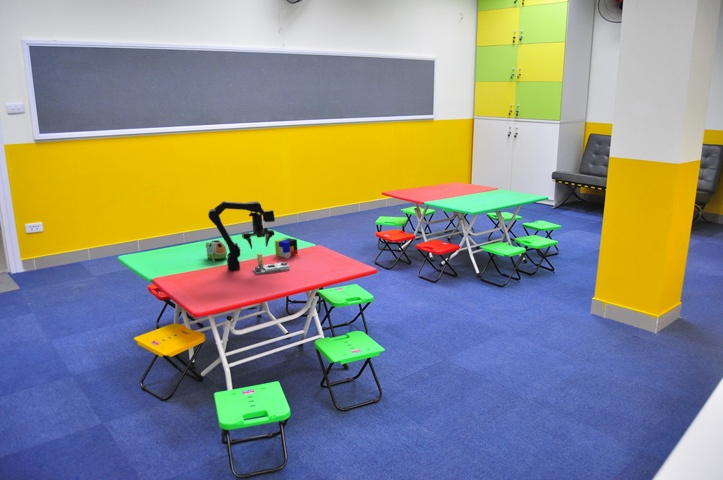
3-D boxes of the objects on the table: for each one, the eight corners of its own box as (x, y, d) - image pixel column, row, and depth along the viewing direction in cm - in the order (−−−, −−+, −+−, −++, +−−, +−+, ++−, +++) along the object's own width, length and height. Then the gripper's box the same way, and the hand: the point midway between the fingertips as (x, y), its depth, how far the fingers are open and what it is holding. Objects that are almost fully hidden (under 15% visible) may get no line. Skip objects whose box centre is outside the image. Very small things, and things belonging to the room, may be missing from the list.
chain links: (256, 274, 335) (256, 269, 334) (253, 270, 343) (252, 265, 342) (289, 269, 343) (289, 264, 342) (285, 265, 351) (284, 261, 350)
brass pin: (258, 267, 348) (257, 255, 346) (257, 266, 351) (256, 254, 349) (263, 267, 349) (262, 254, 347) (262, 265, 352) (261, 253, 350)
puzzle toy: (286, 258, 367) (285, 243, 364) (275, 255, 373) (274, 240, 370) (297, 254, 375) (296, 239, 372) (286, 252, 381) (285, 237, 378)
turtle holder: (217, 253, 381) (215, 236, 378) (231, 258, 369) (229, 241, 365) (200, 257, 373) (198, 240, 370) (214, 263, 360) (212, 245, 357)
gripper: (245, 227, 332) (247, 253, 336) (276, 223, 340) (277, 248, 344) (240, 223, 342) (242, 248, 346) (271, 220, 350) (272, 244, 354)
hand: (259, 247), depth 347 cm, fingers open, 9 cm apart
